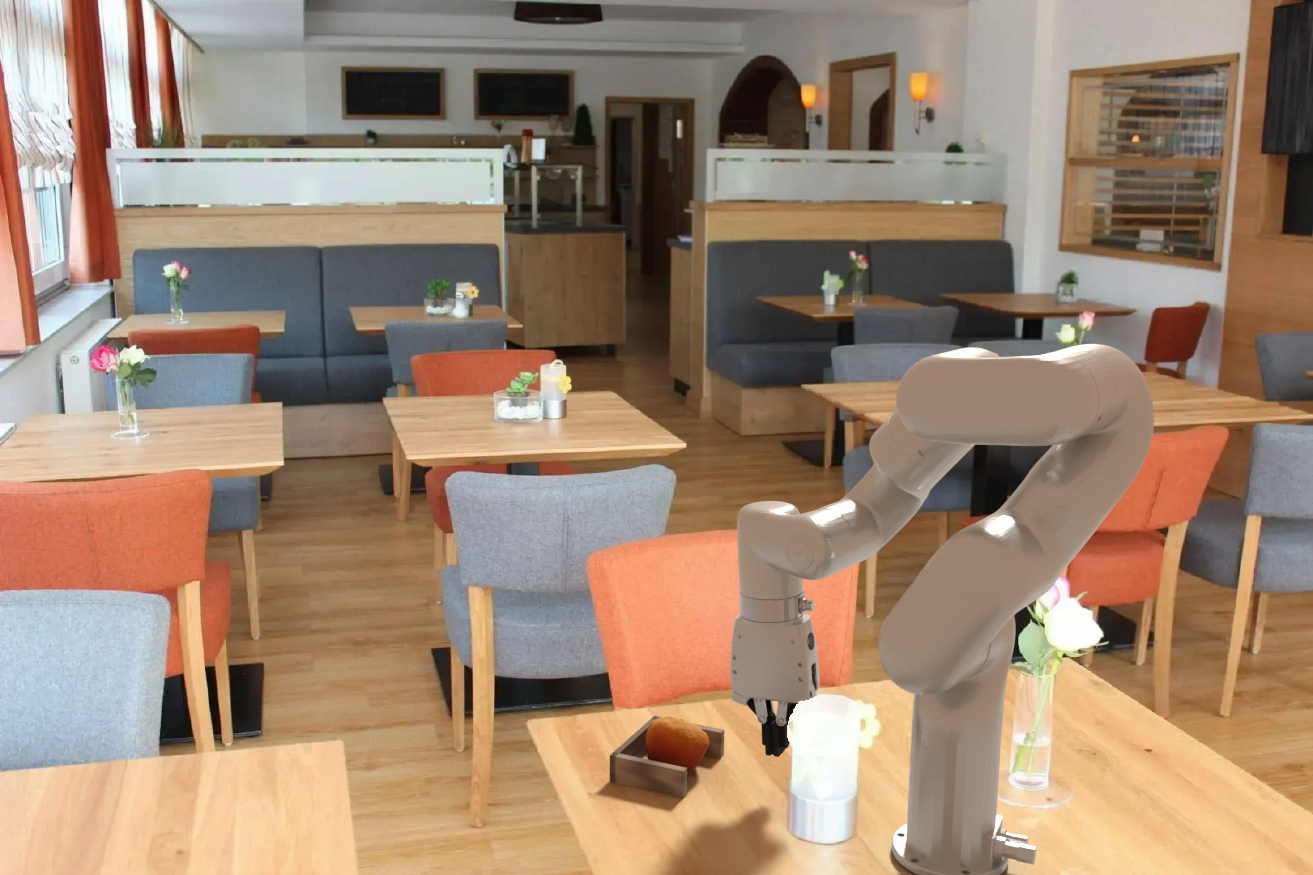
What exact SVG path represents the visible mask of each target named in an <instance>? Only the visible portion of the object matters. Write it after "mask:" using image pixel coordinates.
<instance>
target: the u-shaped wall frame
mask: <svg viewBox="0 0 1313 875" xmlns="http://www.w3.org/2000/svg"><path fill="white" fill-rule="evenodd" d="M662 718H664V717H661V716H657V715H654V716H652V717H651V718H650V719H649V720H648V721H647V722H645V724H644V725H642V726H641V727H640V728H639V729H637V730H636V731H635V732H634V733H633V734H632V735H631V736H630V737H628V738H627V739H626V740H625V741H624V742H622V744H621V745H619V746H618V747H617V748H616V749H615V750H614V751H613V752H612V753H611V754H610V755H609V782H610V783H615V784H619V785H623V786H627V787H628V786H629V787H633V788H635V789H636V788H637V789H641V790H645V791H646V790H647V791H650V792H655V793H658V794H663V795H669V796H673V797H678V798H681V799H685V797H686V796H687V795H688V774H687V768H685V767H680V766H676V765H671V764H666V763H662V762H657V761H652V760H648V758H644V757H645V756H647V753H646V746H645V745H646V733H647V730H648V727H649V725H650V723H651V722H653V721H654V720H659V719H662ZM691 723H692V724H695V725H697V726H699V727H700V728H701V729H702V730H703V731H704V732H706V733H707V735H708V739H709V742H710V743H709V746H708V749H707V751H706V753H705V755H704V756H709V755H710V756H709V757H714V758H715V757H716V758H719V759H721V758H722V757H723V756H724V755H725V729H723V728H717V727H712V726H709V725H708V726H706V725H702V724H698V723H693V722H691Z"/></svg>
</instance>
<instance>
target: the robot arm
mask: <svg viewBox="0 0 1313 875" xmlns="http://www.w3.org/2000/svg"><path fill="white" fill-rule="evenodd" d="M1143 374H1144V373H1143V372H1142V371H1141V369H1140V368H1139V366H1138V365H1137V364H1136V362H1134V360H1132V359H1131V357H1130V356H1129V355H1127V354H1126V353H1124V352H1123V351H1121V350H1119V349H1117V348H1115V347H1112V346H1109V345H1105V344H1099V343H1097V344H1096V343H1086V344H1078V345H1073V346H1070V347H1065V348H1061V349H1058V350H1054V351H1051V352H1047V353H1043V354H1039V355H1038V354H1037V355H1021V356H1020V355H1018V356H999V355H998V354H996V353H994V352H993V351H991V350H988V349H985V348H981V347H962V348H958V349H953V350H950V351H945V352H941V353H937V354H932V355H929V356H926V357H923V358H921V359H920V360H918V361H916V362H915V363H914V364H912V366H911V367H909V368H908V370H906V372H905V373H904V374H903V376H902V378H901V379H900V382H899V384H898V387H897V390H896V397H895V403H896V409H895V410H894V412H893V413H891V414H890V415H889V417H888V418H887V419H886V420H885V421H884V422H883V423H882V424H881V425H880V426H879V427H878V428H877V429H876V430H875V432H873V434H872V435H871V437H870V440H869V444H868V445H869V446H868V447H869V448H868V449H869V453H870V456H871V460H872V462H873V465H872V466H871V468H870V469H869V470H868V471H867V472H866V474H864V476H863V477H862V478H861V479H860V480H859V481H858V482H857V484H855V485H854V486H853V488H852V489H851V490H850V491H848V493H846V495H844V497H842V498H841V499H839V500H838V501H836V502H833V503H830V504H828V505H825V506H822V507H819V508H817V509H813V510H811V511H807V512H803V513H800V511H799V509H798V508H797V506H795V505H794V504H792V503H790V502H789V503H788V502H785V501H779V500H764V501H756V502H751V503H748V504H745V505H743V506H742V507H741V508H740V509H739V511H738V514H737V517H736V520H737V521H736V532H737V534H736V535H737V553H738V554H737V560H738V562H737V563H738V586H739V612H738V613H737V614H736V616H735V619H734V624H733V630H732V636H731V637H732V638H731V646H730V647H731V648H730V663H729V664H730V665H729V666H730V669H729V673H730V674H729V676H730V686H731V690H732V692H731V700H732V701H733V702H735V703H738V704H739V705H740V704H741V705H742V706H747V707H748V708H749V710H751V711H752V713H753V714H754V715H755V717H756V719H757V721H758V723H760V724H761V744H762V746H764V749H765V752H764V753H765V756H767V757H768V756H774V757H775V758H779V757H781V755H782V754H783V753H784V752H785V751H786V749H788V748H789V746H790V742H789V741H788V738H787V725H788V721H789V722H790V720H789V717H790V715H791V714H792V713H793V709H794V708H795V706H796V704H798V702H799V701H801V700H802V701H805V700H809V699H810V698H813V697H815V696H817V692H816V691H818V690H819V689H820V682H821V680H820V679H821V677H820V676H821V675H820V664H819V663H820V662H819V654H818V653H819V652H818V646H817V640H816V634H815V629H814V626H813V620H812V618H811V615H810V614H806V613H807V612H814V611H815V608H816V602H815V600H813V599H809V598H807V597H806V595H805V594H806V593H805V590H804V581H803V580H808V581H818V580H823V579H826V578H829V577H830V576H832V575H835V574H837V573H840V572H842V571H844V570H845V569H848V568H850V567H852V566H854V565H856V564H859V563H862V562H863V561H866V560H868V559H870V558H871V557H872V556H874V555H875V554H876V553H878V552H879V551H880V550H881V549H883V547H884V546H885V545H887V544H888V542H890V540H891V539H892V538H893V537H895V535H896V534H898V532H900V530H902V529H903V528H904V527H905V526H906V524H907V523H908V522H910V520H911V519H912V518H913V517H914V516H915V515H916V514H917V513H918V511H919V510H920V509H921V507H922V505H923V504H924V502H925V500H927V498H928V497H929V494H930V492H931V490H932V489H933V488H934V487H935V486H936V485H937V483H939V482H940V480H942V479H943V477H944V476H946V474H947V473H948V472H949V471H950V470H951V469H953V467H954V466H955V465H956V464H957V463H958V462H959V461H961V459H962V458H963V457H964V456H966V454H968V452H969V451H970V450H971V449H972V448H974V446H975V445H982V446H984V445H985V446H1015V447H1016V446H1019V447H1044V446H1046V447H1047V446H1050V448H1049V449H1048V450H1047V451H1046V452H1045V453H1044V454H1043V455H1042V456H1041V457H1040V459H1038V461H1037V462H1036V463H1035V464H1034V465H1033V466H1032V467H1031V469H1030V470H1029V472H1028V473H1027V475H1026V476H1025V478H1024V479H1023V480H1022V482H1021V483H1020V484H1019V485H1018V486H1017V487H1016V489H1015V491H1013V493H1012V494H1011V495H1010V497H1008V499H1007V500H1006V501H1005V502H1004V503H1003V504H1002V505H1001V506H1000V508H998V510H996V511H995V512H993V513H992V514H990V515H988V516H986V517H985V518H982V519H981V520H978V521H977V522H974V523H972V524H970V525H968V526H967V527H964V528H963V529H960V530H959V531H957V532H956V533H955V534H952V536H950V537H949V538H948V539H947V540H946V541H945V542H944V543H942V544H941V546H940V547H939V548H938V549H937V550H936V551H935V552H934V554H933V555H932V556H931V558H930V559H928V561H927V563H926V564H925V565H924V567H923V568H922V570H921V571H920V572H919V573H918V575H917V576H916V577H915V578H914V580H913V581H912V583H911V584H910V585H909V586H908V588H907V589H906V591H905V592H904V593H903V594H902V596H900V598H899V600H898V601H897V602H896V604H895V605H894V606H893V608H892V609H891V611H889V613H888V615H887V617H886V618H885V619H884V622H883V624H882V626H881V630H880V631H879V632H880V633H879V637H878V643H877V644H878V655H879V660H880V664H881V666H882V669H883V671H884V673H885V674H886V675H887V677H888V678H889V680H891V682H892V683H893V684H894V685H896V686H897V687H898V688H900V689H901V690H904V691H906V692H907V693H911V694H913V703H912V718H911V732H910V734H911V735H910V753H909V754H910V755H909V774H908V777H909V778H908V795H907V818H906V819H907V820H906V823H905V824H903V825H902V826H900V827H899V828H898V829H897V830H896V831H895V832H894V834H893V836H892V839H891V852H892V854H893V856H894V858H895V860H896V861H897V862H898V863H899V864H900V865H901V866H903V867H904V868H905V869H906V870H908V871H909V872H911V873H913V874H915V875H1002V874H1003V873H1004V872H1005V870H1006V869H1007V867H1008V864H1009V860H1014V861H1016V862H1018V863H1024V864H1029V865H1034V864H1035V861H1036V856H1037V846H1034V845H1031V844H1029V835H1025V834H1021V833H1013V832H1007V831H1008V830H1007V829H1006V828H1003V816H1002V815H998V814H997V813H998V812H997V809H998V793H999V778H1000V764H1001V761H1000V760H1001V748H1002V747H1001V746H1002V732H1003V722H1004V711H1005V707H1004V706H1005V698H1006V690H1007V689H1006V688H1007V682H1008V678H1009V677H1008V676H1009V672H1010V667H1011V662H1012V657H1013V654H1014V648H1015V642H1016V619H1015V618H1016V617H1015V615H1016V614H1017V613H1018V612H1020V611H1021V610H1023V609H1024V608H1026V607H1027V606H1030V605H1031V604H1032V603H1033V602H1035V601H1036V600H1039V599H1040V598H1041V597H1042V596H1044V595H1045V594H1046V593H1048V592H1049V591H1050V590H1051V589H1052V588H1053V586H1054V585H1055V584H1056V582H1057V581H1058V579H1059V578H1060V577H1061V576H1062V574H1063V573H1064V571H1065V570H1066V569H1067V568H1068V566H1069V564H1070V563H1071V562H1072V561H1073V559H1075V557H1076V556H1077V555H1078V554H1079V553H1080V551H1081V550H1082V549H1083V547H1084V546H1085V545H1086V544H1087V542H1088V541H1089V540H1090V539H1091V538H1092V536H1093V535H1094V534H1095V533H1096V531H1097V530H1098V528H1100V526H1101V524H1102V523H1103V522H1104V521H1105V519H1106V518H1107V517H1108V515H1109V514H1110V513H1111V511H1112V510H1113V509H1114V508H1115V506H1117V504H1118V503H1119V502H1120V501H1121V499H1122V498H1123V496H1124V495H1125V494H1126V492H1127V491H1128V489H1129V488H1130V487H1131V485H1132V484H1133V482H1134V481H1135V480H1136V477H1137V476H1138V474H1139V472H1140V471H1141V469H1142V467H1143V465H1144V463H1145V461H1146V458H1148V457H1147V456H1148V454H1149V451H1150V448H1151V444H1152V440H1153V435H1154V431H1155V430H1154V429H1155V428H1154V427H1155V410H1154V401H1153V397H1152V393H1151V391H1150V387H1149V385H1148V382H1147V380H1146V378H1145V376H1144V375H1143ZM817 697H818V696H817ZM774 702H777V707H776V708H777V709H776V713H775V707H774Z"/></svg>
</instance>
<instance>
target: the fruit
mask: <svg viewBox="0 0 1313 875" xmlns="http://www.w3.org/2000/svg"><path fill="white" fill-rule="evenodd" d="M692 723H693V722H689V721H687V720H684V718H677V717H674V716H665V717H663V718H662V719H659V720H654V721H653V722H651V723H650V725H649V727H648V730H647V733H646V745H645V746H646V753H647V754H646V759H648V760H652V761H657V762H662V763H666V764H671V765H676V766H680V767H685V768H687V775H688V774H690V773H692V772H693V771H694V770H695V769H696V768H697V767H698V765H699V764H700V763H701V761H702V759H703V758H704V756H706V755H705V753H706V751H707V749H708V746H709V743H710V742H709V739H708V735H707V733H706V732H704V731H703V730H702V729H701V728H700V727H699V726H697V725H695V724H696V723H693V724H692Z"/></svg>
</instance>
